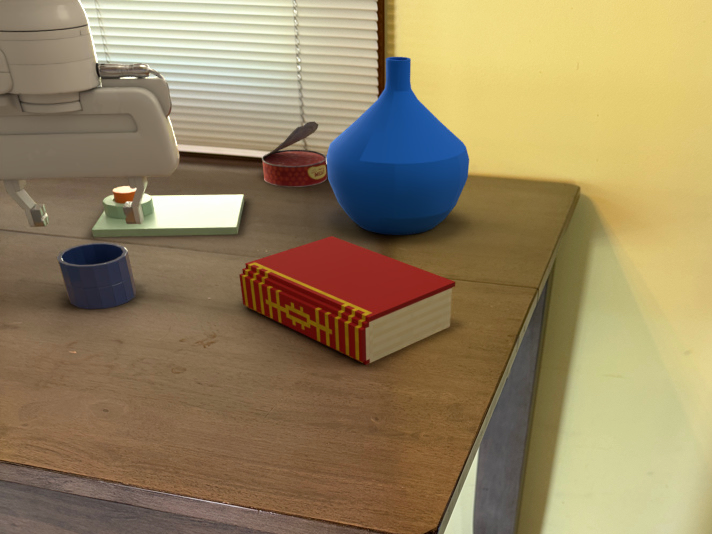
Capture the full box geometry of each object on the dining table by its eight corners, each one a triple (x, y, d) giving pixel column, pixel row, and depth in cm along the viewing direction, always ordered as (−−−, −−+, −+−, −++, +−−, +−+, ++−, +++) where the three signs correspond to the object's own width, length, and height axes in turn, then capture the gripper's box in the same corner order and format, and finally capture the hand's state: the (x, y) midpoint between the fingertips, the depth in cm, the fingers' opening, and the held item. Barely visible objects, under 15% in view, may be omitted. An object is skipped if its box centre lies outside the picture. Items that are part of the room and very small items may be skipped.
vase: (366, 257, 92) (362, 77, 80) (308, 215, 105) (297, 52, 92) (491, 235, 99) (505, 65, 87) (423, 197, 111) (427, 43, 99)
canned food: (288, 219, 117) (253, 161, 109) (271, 193, 124) (238, 137, 116) (349, 178, 116) (319, 117, 109) (329, 154, 123) (299, 95, 115)
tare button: (113, 205, 98) (110, 193, 97) (117, 198, 101) (115, 186, 100) (138, 205, 98) (135, 192, 97) (142, 198, 101) (139, 185, 100)
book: (244, 312, 80) (238, 265, 76) (333, 280, 87) (331, 236, 83) (362, 371, 70) (361, 320, 67) (452, 329, 77) (455, 281, 74)
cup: (63, 314, 79) (49, 267, 75) (78, 288, 84) (66, 243, 81) (131, 312, 79) (120, 265, 76) (142, 287, 85) (132, 241, 81)
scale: (94, 241, 96) (88, 216, 94) (115, 206, 106) (110, 184, 104) (238, 238, 97) (234, 213, 95) (244, 204, 108) (242, 182, 106)
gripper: (169, 57, 71) (195, 211, 80) (-58, 60, 69) (-5, 216, 78) (159, 68, 66) (188, 231, 75) (-85, 72, 64) (-26, 237, 73)
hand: (88, 223), depth 76 cm, fingers open, 8 cm apart
